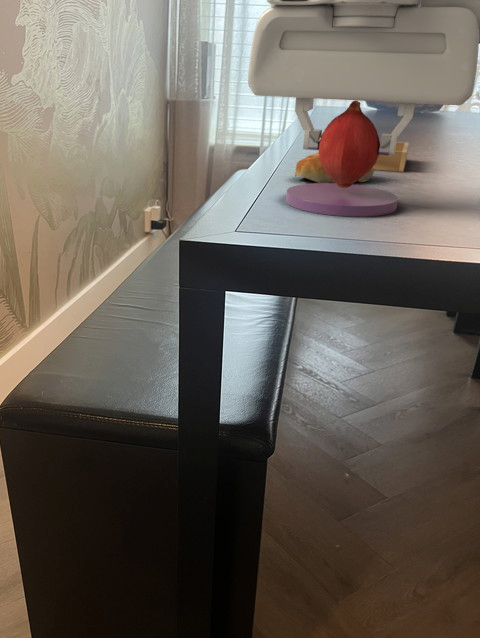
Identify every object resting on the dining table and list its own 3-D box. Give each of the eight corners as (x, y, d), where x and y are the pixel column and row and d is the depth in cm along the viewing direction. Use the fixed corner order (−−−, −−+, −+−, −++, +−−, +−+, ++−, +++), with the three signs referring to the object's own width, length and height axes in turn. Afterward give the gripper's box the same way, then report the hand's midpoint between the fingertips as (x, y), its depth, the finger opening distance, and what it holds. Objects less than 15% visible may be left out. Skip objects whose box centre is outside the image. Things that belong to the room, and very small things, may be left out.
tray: (335, 155, 91) (337, 137, 89) (405, 161, 88) (409, 142, 87) (325, 165, 82) (327, 146, 81) (403, 172, 79) (406, 151, 78)
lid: (370, 192, 67) (372, 182, 66) (416, 216, 57) (418, 205, 57) (273, 192, 65) (274, 183, 65) (303, 217, 56) (305, 206, 55)
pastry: (317, 187, 68) (321, 152, 66) (280, 178, 73) (283, 144, 72) (377, 181, 73) (382, 147, 71) (338, 172, 78) (342, 141, 76)
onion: (306, 182, 63) (315, 97, 59) (358, 182, 64) (370, 98, 60) (326, 194, 57) (337, 102, 54) (383, 193, 58) (397, 103, 55)
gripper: (496, -14, 52) (460, 155, 59) (265, -13, 58) (255, 141, 64) (504, -22, 47) (463, 164, 53) (248, -20, 52) (239, 148, 59)
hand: (347, 151), depth 59 cm, fingers closed on onion, 6 cm apart
